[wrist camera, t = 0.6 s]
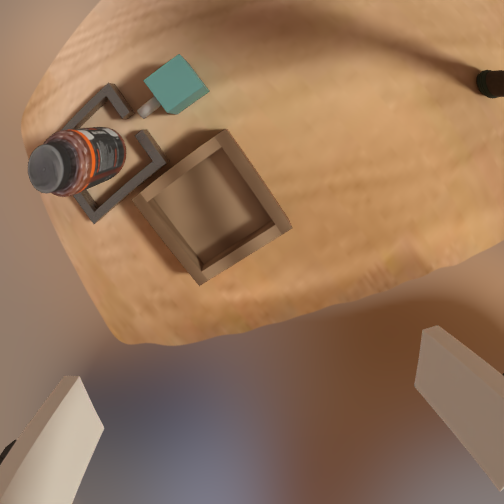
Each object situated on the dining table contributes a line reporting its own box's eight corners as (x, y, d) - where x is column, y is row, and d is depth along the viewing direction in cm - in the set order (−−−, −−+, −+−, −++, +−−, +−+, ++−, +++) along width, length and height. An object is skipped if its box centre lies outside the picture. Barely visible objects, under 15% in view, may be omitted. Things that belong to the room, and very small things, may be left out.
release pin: (187, 62, 26) (179, 53, 22) (209, 91, 27) (203, 85, 24) (137, 101, 27) (122, 97, 24) (157, 129, 29) (145, 129, 25)
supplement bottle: (113, 116, 28) (55, 115, 18) (137, 162, 30) (86, 181, 20) (74, 145, 29) (10, 159, 18) (96, 189, 31) (38, 218, 21)
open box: (227, 129, 29) (224, 129, 26) (288, 219, 33) (292, 228, 30) (141, 193, 31) (131, 199, 29) (203, 273, 35) (199, 285, 32)
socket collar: (114, 84, 27) (108, 82, 25) (169, 161, 30) (166, 162, 29) (50, 149, 29) (43, 150, 27) (99, 220, 32) (93, 224, 31)
